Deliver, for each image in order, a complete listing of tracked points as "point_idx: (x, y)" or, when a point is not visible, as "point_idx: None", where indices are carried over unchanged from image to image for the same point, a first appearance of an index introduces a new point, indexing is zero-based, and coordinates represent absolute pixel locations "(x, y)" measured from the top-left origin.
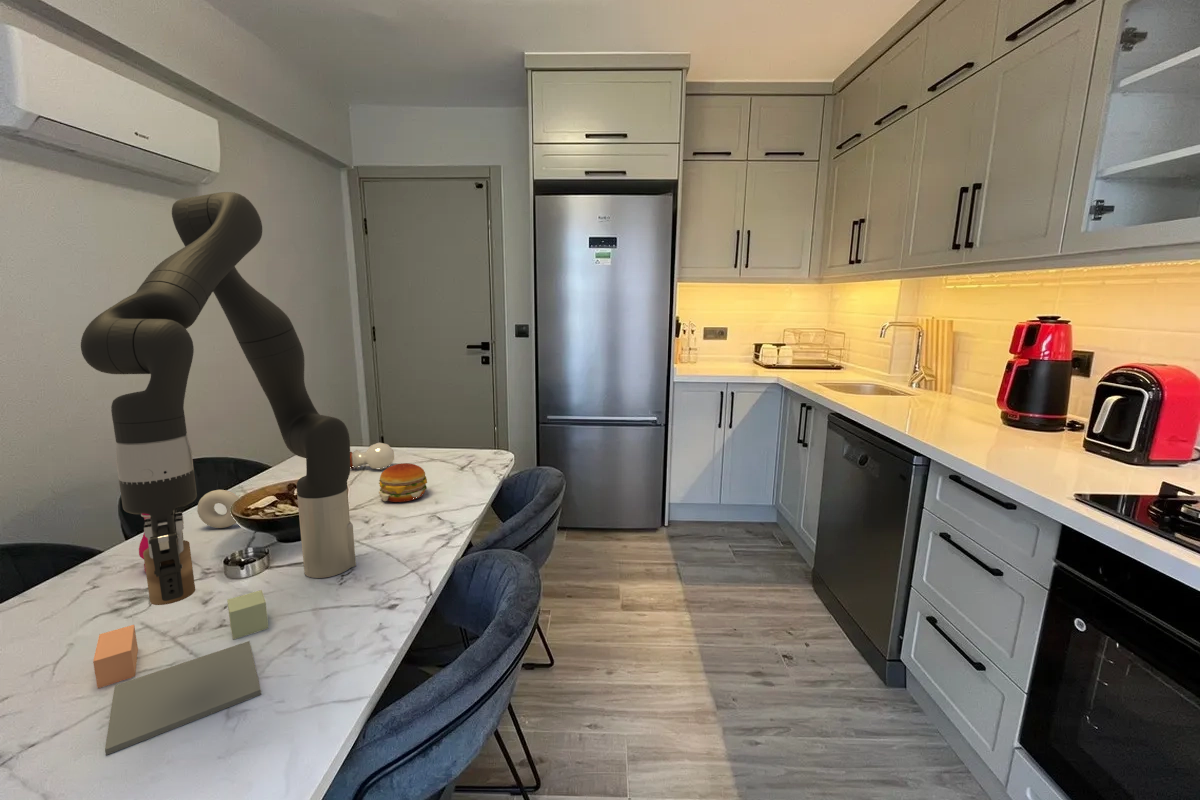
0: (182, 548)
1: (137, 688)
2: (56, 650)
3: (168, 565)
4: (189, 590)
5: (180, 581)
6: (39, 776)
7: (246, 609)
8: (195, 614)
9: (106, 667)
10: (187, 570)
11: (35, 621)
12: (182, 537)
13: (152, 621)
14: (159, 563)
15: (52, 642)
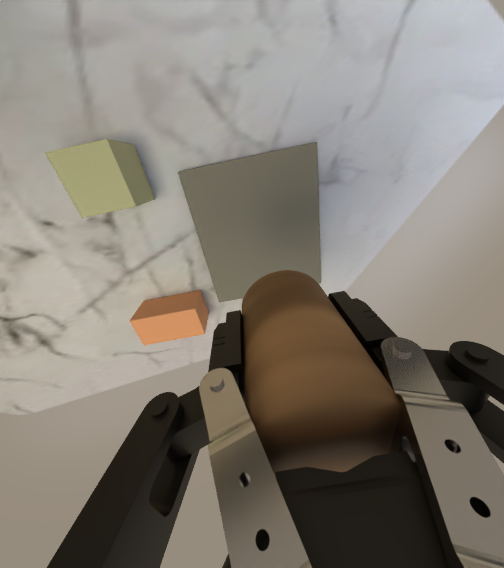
0: (465, 416)
1: (235, 282)
2: (124, 360)
3: (488, 396)
4: (313, 282)
5: (362, 315)
6: None
7: (125, 178)
8: (67, 260)
9: (203, 318)
10: (335, 317)
11: (62, 390)
12: (439, 481)
13: (79, 302)
14: (497, 429)
15: (108, 367)
